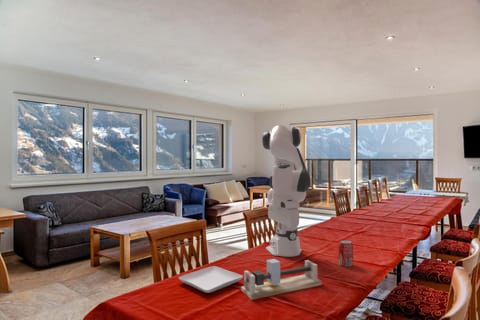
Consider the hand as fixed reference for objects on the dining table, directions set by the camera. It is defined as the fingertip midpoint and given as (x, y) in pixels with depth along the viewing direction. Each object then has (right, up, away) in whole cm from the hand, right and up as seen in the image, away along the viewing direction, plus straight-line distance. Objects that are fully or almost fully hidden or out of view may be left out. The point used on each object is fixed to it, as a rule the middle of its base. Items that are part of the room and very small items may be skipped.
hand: (282, 233), depth 140 cm
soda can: (+36, -22, +26) cm, 50 cm away
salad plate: (-31, -24, +5) cm, 40 cm away
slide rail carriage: (-4, -20, -3) cm, 21 cm away
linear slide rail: (0, -23, -1) cm, 23 cm away
